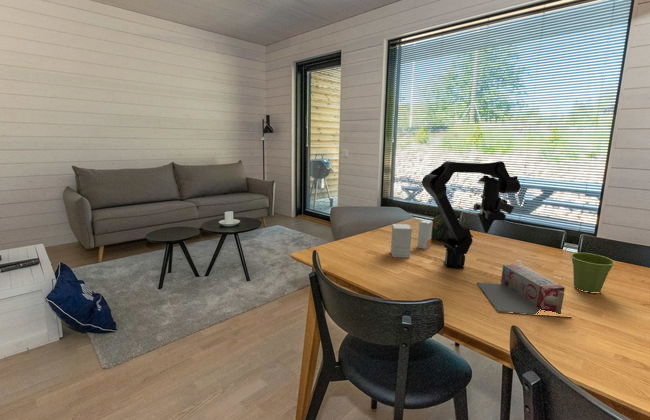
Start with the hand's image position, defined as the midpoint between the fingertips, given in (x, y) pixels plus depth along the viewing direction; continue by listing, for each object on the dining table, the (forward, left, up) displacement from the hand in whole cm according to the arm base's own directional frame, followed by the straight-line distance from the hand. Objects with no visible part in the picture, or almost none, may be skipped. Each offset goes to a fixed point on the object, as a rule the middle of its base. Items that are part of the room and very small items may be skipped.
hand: (485, 232), depth 136 cm
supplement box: (-32, +5, -13) cm, 35 cm away
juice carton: (+3, -19, -9) cm, 21 cm away
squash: (-8, +33, -13) cm, 36 cm away
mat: (+2, -30, -13) cm, 33 cm away
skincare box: (-20, +18, -13) cm, 30 cm away
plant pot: (+28, -19, -13) cm, 36 cm away
